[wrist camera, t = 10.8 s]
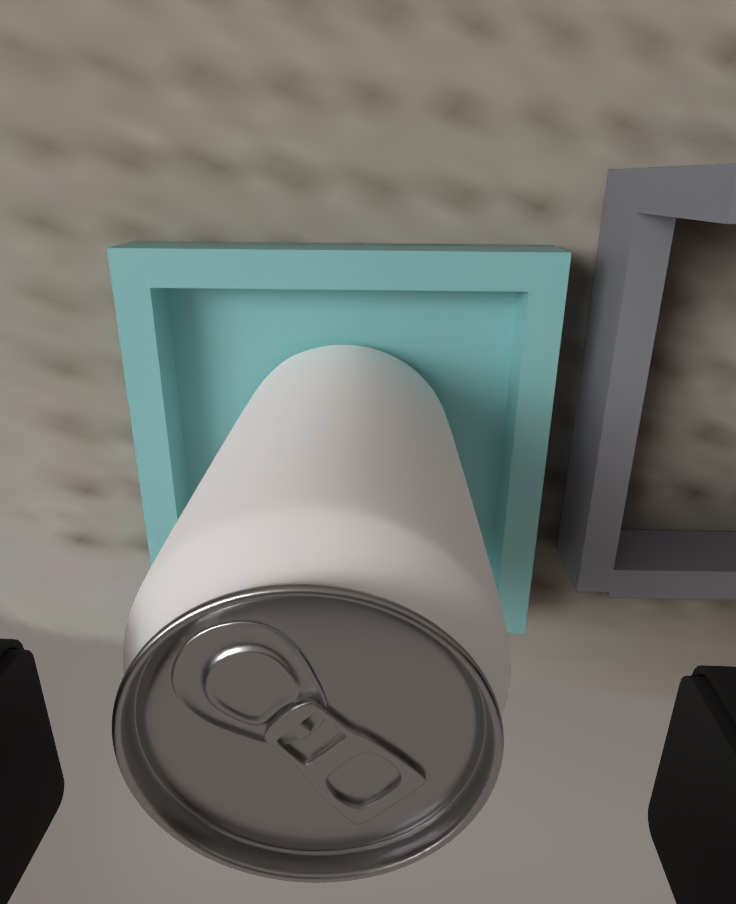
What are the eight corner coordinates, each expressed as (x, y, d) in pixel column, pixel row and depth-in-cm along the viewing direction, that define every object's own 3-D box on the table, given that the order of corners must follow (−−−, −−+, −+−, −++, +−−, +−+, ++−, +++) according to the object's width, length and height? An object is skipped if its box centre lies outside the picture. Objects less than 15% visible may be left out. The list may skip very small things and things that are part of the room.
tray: (552, 245, 19) (571, 252, 17) (513, 597, 23) (524, 633, 21) (133, 241, 19) (107, 248, 17) (177, 592, 23) (159, 627, 22)
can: (349, 293, 19) (307, 458, 8) (492, 447, 20) (627, 766, 9) (199, 436, 20) (-14, 741, 9) (342, 567, 22) (307, 954, 11)
